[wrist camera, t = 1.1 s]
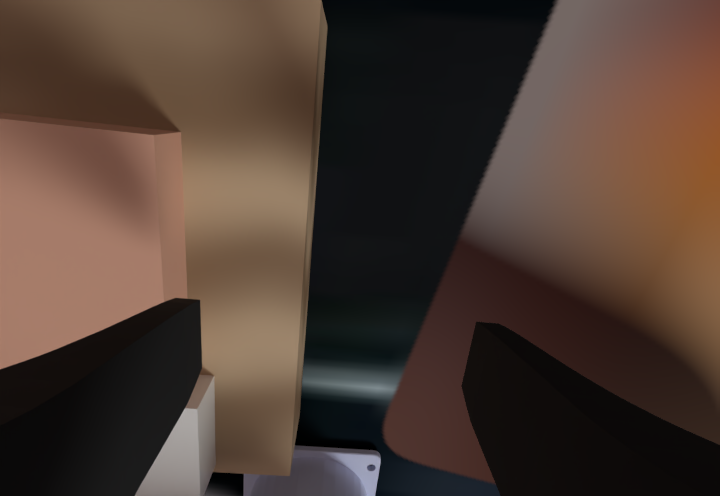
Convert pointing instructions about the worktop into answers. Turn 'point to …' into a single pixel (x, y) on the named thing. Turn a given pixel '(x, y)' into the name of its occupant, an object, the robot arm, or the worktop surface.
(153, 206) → the terracotta tile
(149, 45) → the oak deck
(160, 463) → the pale grey tile
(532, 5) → the worktop surface
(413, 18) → the worktop surface
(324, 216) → the worktop surface
